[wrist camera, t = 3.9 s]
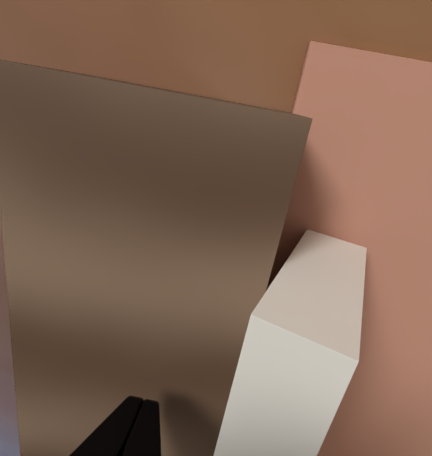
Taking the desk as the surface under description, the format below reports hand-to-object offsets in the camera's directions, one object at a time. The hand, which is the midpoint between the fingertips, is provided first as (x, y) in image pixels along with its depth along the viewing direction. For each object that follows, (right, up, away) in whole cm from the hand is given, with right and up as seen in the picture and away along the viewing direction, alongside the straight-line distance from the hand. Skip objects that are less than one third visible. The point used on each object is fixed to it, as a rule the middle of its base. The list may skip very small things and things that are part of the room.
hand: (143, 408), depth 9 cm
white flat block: (+4, 0, +1) cm, 4 cm away
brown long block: (0, +2, +5) cm, 5 cm away
